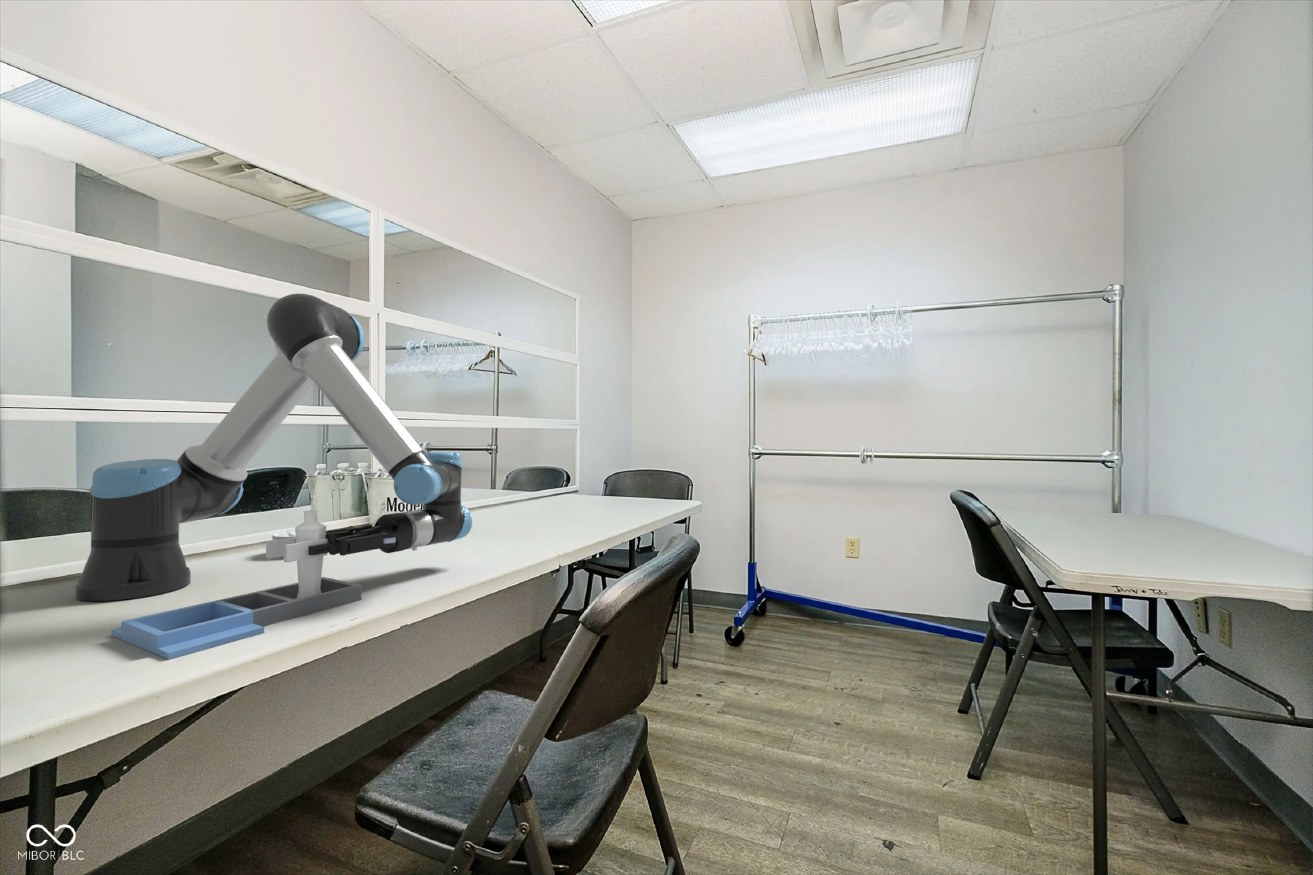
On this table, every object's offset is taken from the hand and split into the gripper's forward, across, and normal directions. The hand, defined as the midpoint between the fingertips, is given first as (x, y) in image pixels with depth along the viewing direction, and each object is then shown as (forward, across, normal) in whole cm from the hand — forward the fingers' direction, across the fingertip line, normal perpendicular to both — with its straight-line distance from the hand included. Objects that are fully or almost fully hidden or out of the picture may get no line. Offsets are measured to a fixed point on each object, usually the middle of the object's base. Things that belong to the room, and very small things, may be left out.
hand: (276, 551), depth 88 cm
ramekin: (-27, +41, -10) cm, 50 cm away
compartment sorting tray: (+3, 0, -10) cm, 10 cm away
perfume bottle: (-5, 0, -9) cm, 11 cm away
